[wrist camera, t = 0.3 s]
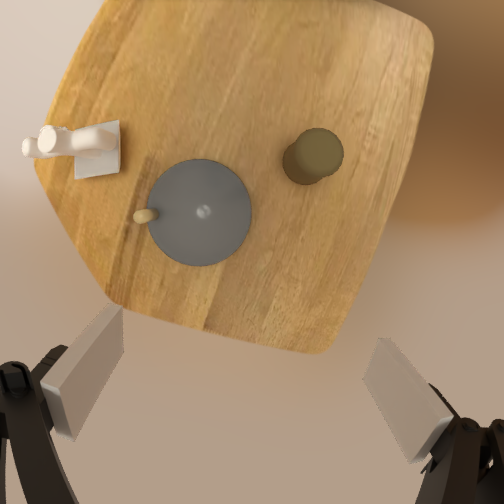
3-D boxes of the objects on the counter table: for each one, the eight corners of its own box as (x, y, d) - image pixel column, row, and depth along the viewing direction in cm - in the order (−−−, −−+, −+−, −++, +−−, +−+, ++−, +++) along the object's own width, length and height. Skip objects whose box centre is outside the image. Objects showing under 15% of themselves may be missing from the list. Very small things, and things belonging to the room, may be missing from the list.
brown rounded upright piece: (316, 192, 39) (336, 191, 29) (274, 172, 39) (280, 163, 28) (334, 153, 38) (360, 138, 28) (293, 132, 38) (306, 110, 27)
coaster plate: (168, 147, 39) (153, 140, 33) (266, 179, 39) (267, 176, 33) (138, 244, 41) (119, 252, 35) (231, 278, 42) (226, 292, 36)
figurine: (136, 173, 39) (79, 164, 25) (81, 181, 40) (15, 179, 25) (136, 123, 38) (82, 94, 23) (81, 134, 38) (18, 116, 24)
